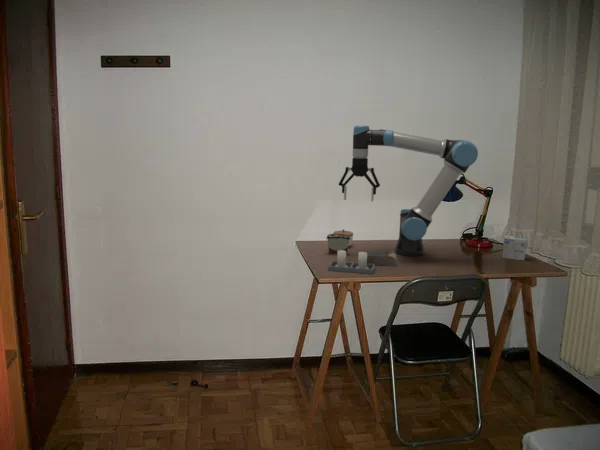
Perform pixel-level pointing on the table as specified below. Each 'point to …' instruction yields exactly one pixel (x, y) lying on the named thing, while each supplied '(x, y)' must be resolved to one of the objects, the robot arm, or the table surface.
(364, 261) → the white pillar candle
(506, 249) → the light bulb box
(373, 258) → the geological specimen
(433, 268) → the table surface
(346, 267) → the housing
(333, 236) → the food container
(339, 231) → the lidded jar
